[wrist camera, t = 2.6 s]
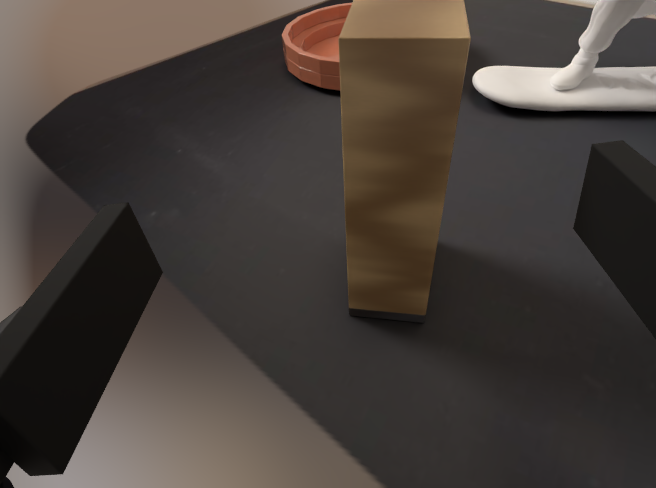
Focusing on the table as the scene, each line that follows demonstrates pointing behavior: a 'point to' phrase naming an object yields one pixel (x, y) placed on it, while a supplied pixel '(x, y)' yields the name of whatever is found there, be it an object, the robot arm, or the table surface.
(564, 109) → the figurine
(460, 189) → the table surface
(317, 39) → the bowl
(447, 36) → the wooden block
